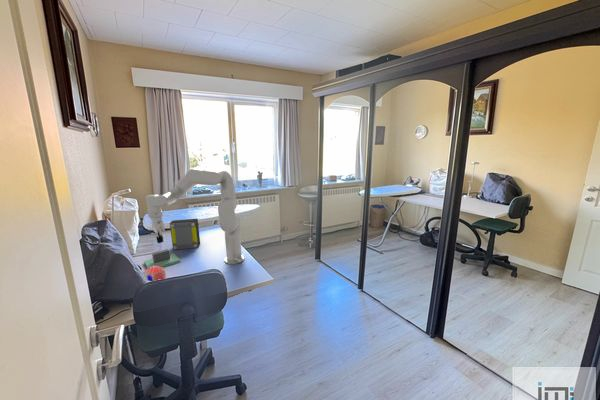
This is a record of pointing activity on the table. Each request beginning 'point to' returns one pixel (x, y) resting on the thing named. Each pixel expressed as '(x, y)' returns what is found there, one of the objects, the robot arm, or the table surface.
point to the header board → (171, 261)
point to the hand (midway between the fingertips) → (160, 242)
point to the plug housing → (161, 256)
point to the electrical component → (185, 233)
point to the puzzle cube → (154, 273)
